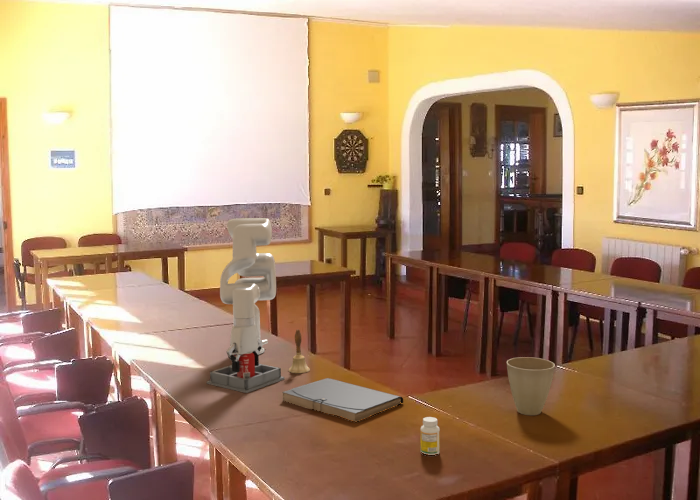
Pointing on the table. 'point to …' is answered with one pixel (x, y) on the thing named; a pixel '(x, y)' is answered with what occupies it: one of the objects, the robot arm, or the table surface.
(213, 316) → the table surface
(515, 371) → the plant pot
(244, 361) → the beverage can
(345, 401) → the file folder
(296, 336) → the hand bell
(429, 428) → the supplement bottle
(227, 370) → the drink carrier
